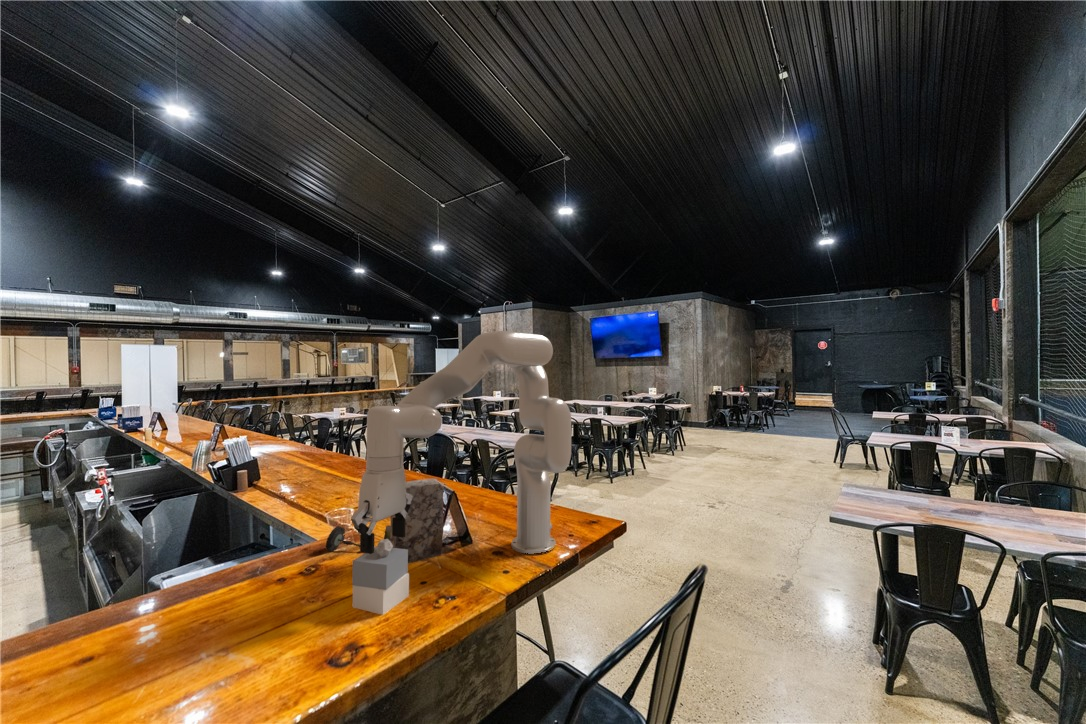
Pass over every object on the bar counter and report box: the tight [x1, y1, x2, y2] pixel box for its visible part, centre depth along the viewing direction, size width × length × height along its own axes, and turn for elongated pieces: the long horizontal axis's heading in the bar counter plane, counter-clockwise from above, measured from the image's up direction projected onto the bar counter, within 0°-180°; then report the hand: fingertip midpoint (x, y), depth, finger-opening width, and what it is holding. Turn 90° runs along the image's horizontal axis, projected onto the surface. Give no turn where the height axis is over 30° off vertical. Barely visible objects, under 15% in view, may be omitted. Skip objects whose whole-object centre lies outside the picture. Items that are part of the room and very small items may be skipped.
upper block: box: [351, 545, 409, 590], centre depth 91 cm, size 8×8×5 cm
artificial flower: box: [325, 524, 391, 552], centre depth 118 cm, size 9×22×10 cm, turn 82°
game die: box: [375, 538, 393, 557], centre depth 91 cm, size 4×4×3 cm
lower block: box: [352, 572, 410, 616], centre depth 91 cm, size 8×8×5 cm
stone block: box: [390, 478, 445, 565], centre depth 113 cm, size 13×7×20 cm, turn 129°
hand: (383, 544), depth 91 cm, fingers open, 9 cm apart
